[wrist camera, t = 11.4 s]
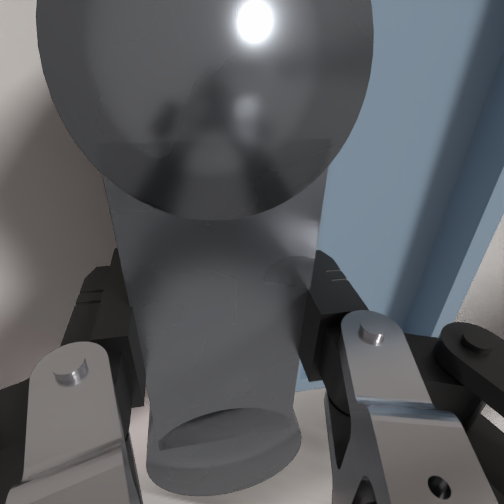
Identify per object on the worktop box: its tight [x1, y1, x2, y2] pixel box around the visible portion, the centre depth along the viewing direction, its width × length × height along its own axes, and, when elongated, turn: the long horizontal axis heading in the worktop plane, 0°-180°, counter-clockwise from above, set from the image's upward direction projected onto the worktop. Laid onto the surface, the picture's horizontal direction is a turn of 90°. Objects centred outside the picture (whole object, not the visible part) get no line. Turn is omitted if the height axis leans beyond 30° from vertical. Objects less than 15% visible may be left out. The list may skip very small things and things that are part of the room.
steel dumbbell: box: [36, 0, 374, 496], centre depth 10 cm, size 5×16×4 cm, turn 178°
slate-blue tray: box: [295, 0, 504, 392], centre depth 15 cm, size 9×20×2 cm, turn 178°
